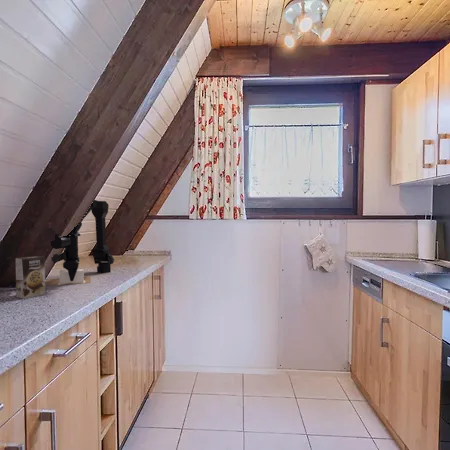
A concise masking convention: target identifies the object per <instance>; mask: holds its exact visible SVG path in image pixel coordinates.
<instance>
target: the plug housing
mask: <svg viewBox="0 0 450 450" xmlns="http://www.w3.org/2000/svg"><path fill="white" fill-rule="evenodd" d="M84 277H85V275H84V268H82V269H81V268H78V269H77V272H76V274H75V277H74V280H73V281H70V277H69V273H68V270H66V269H62V270H60V271H59V278H60V284H67V283H81V282H84Z"/></svg>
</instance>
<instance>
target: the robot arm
mask: <svg viewBox="0 0 450 450" xmlns="http://www.w3.org/2000/svg"><path fill="white" fill-rule="evenodd" d="M90 212H91V214H92V215H93V216H94V218H95V221H94V222H95V236H96V238H95V240H96V243H95V244H96V246H95V247H94V248H92V257H93V262H94V264H97V266H96V273H97V274H108V273H110V274H111V273H112V272H111V267H112V266H111V265H113V264H114V262H115V258H114V256H113V255H112V254H111V249H110V247H109V246H108V244H107V228H106V226H107V225H106V217H107V215H108V213H109V204H108V202H107V201H105V200H96V199H94V201H93V203H92V204H91V206H90V208H89V209H88V211H87V213H86V214H85V216H84V217H83V219H82V220H81V222H80V223H78V225H77V226H76V227H74V229H73V230H72V231H71V232H70V233H69V234H68V235H67V236H63V237H60V236H59V234H55V233H54V234H55V240H54V241H51V240H50V247H51V248H53V249H55V250H60V249H63V251H62V252H59V253H54V254H53V255H52V256H53V257H52V256H51V257H50V259H51V262H52V263H53V264H57V263H58V262H61V261H63V262H62V267H63V269H64V270H68V273H69V277H70V281H73V280H74V277H75V274H76V272H77V269H79V265H80V263H79V262H80V256H79V237H81V234H80V233H79V231H80V229H81V227H83V223H82V222H83V221H84V219H86V217H87V216H88V215H89V213H90ZM69 235H71V236H69Z"/></svg>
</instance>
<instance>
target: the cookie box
mask: <svg viewBox="0 0 450 450" xmlns="http://www.w3.org/2000/svg"><path fill="white" fill-rule="evenodd" d="M45 257H46V256H42V255H33V256H22V257H16V258H15V297H16V298H20V299H22V300H23V299H24V300H25V299H30V298H35V297H41V296H44V295H46V286H45V281H46V264H45V263H46V261H45V260H46V258H45Z"/></svg>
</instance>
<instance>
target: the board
mask: <svg viewBox="0 0 450 450" xmlns="http://www.w3.org/2000/svg"><path fill="white" fill-rule="evenodd" d="M91 282H92V281H91V276H84V282H81V283H67V284H60V277H59V278H47V279H46V278H45V287H52V286H53V287H55V286H68V285H82V284H83V285H84V284H91Z"/></svg>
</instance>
